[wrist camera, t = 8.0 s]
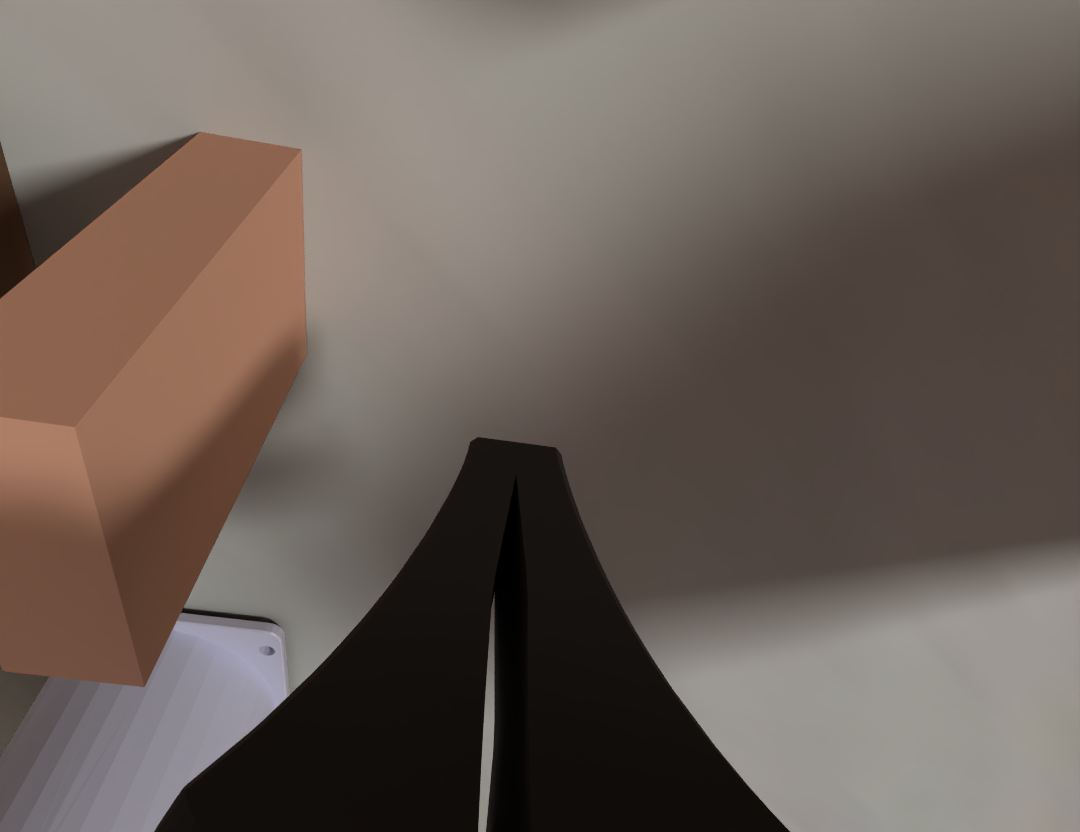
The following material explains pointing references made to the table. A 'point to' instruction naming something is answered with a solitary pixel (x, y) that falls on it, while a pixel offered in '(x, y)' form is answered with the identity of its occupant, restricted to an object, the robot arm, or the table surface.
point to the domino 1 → (11, 236)
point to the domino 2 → (142, 403)
